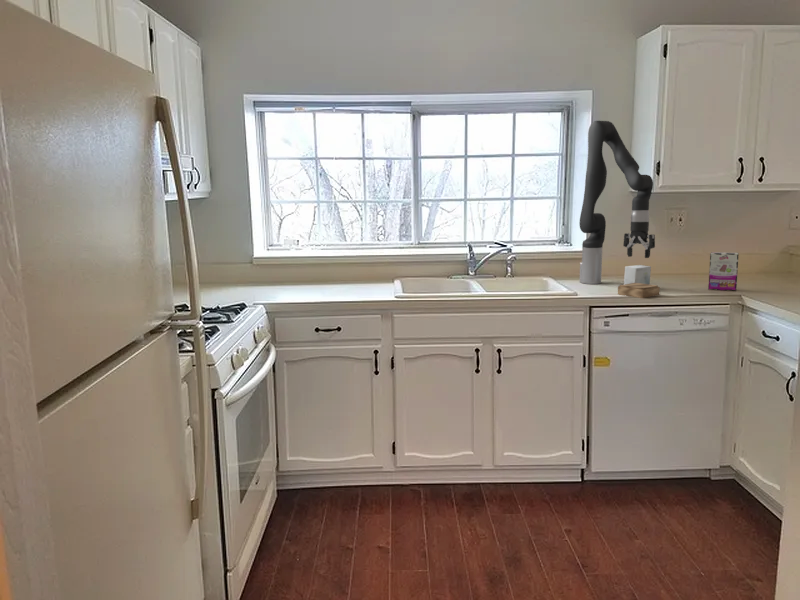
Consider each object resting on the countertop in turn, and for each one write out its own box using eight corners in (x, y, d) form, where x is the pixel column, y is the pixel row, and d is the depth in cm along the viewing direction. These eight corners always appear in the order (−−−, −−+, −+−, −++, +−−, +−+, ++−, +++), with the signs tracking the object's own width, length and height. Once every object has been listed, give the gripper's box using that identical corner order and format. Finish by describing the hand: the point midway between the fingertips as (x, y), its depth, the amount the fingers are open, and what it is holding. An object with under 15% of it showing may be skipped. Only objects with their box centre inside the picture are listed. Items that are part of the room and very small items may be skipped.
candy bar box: (736, 289, 278) (739, 252, 275) (736, 291, 274) (739, 253, 271) (708, 288, 283) (710, 251, 280) (707, 289, 279) (710, 252, 276)
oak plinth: (617, 294, 271) (618, 285, 270) (634, 291, 278) (634, 282, 277) (642, 298, 261) (642, 288, 261) (659, 294, 268) (659, 285, 268)
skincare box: (635, 291, 278) (636, 267, 276) (623, 289, 284) (624, 266, 282) (650, 289, 284) (651, 265, 282) (638, 287, 289) (639, 264, 287)
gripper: (620, 220, 282) (619, 256, 285) (649, 221, 270) (647, 259, 273) (630, 220, 286) (629, 255, 289) (659, 220, 275) (657, 257, 277)
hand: (638, 257), depth 281 cm, fingers open, 8 cm apart
